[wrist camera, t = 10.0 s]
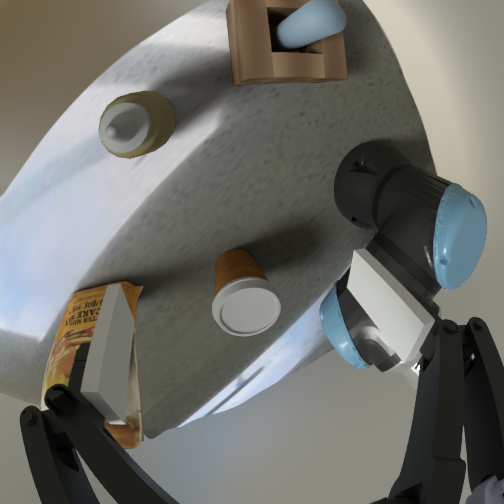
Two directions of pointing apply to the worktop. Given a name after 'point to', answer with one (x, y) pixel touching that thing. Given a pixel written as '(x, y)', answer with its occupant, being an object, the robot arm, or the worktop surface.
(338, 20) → the dowel
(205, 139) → the worktop surface
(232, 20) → the socket block
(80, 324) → the pancake mix bag
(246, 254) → the disposable coffee cup
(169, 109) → the squeeze bottle
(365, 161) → the robot arm
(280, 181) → the worktop surface
